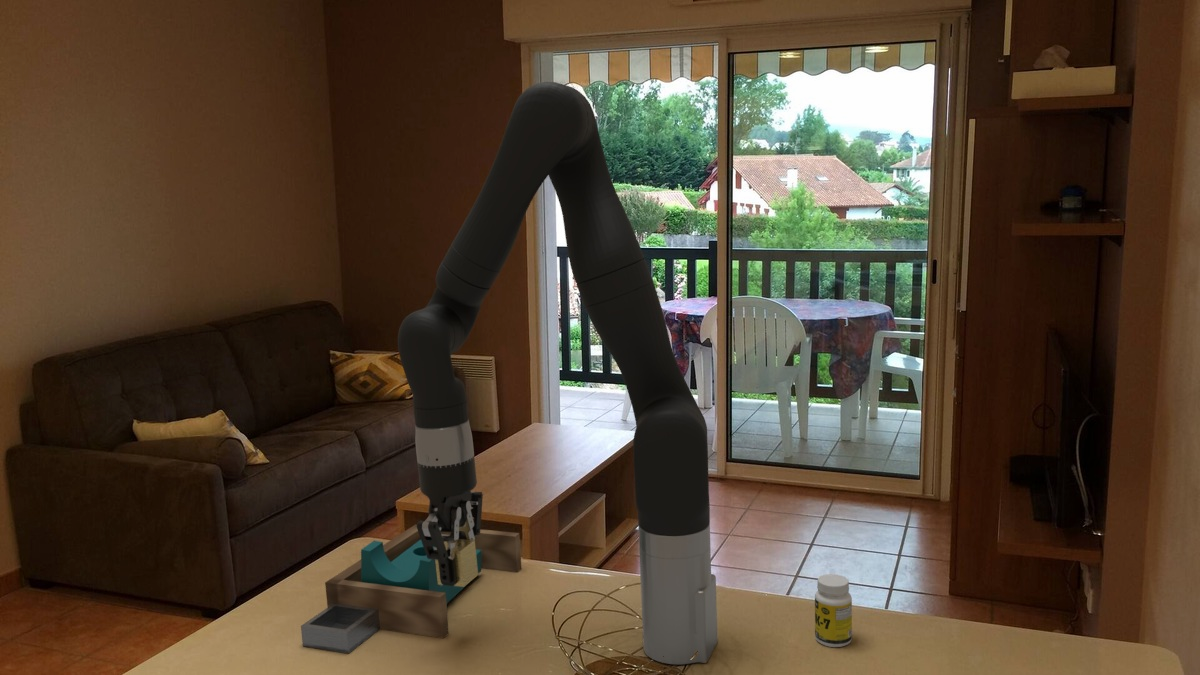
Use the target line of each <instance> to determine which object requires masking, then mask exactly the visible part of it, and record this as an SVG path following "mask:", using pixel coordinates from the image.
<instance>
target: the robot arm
mask: <svg viewBox="0 0 1200 675" xmlns="http://www.w3.org/2000/svg"><path fill="white" fill-rule="evenodd" d="M509 117H510V118H509V120H508V123H507V124H506V127H505V131H504V134H503V136H502V139H501V141H500V142H501V143H500V144H499V148H498V151H497V153H496V156H495V158H494V160H493V163H492V165H491V167H490V170H489V173H488V175H487V177H486V179H485V181H484V183H483V186H482V188H481V190H480V191H479V194H478V196H477V198H476V199H475V202H474V203H473V205H472V207H471V209H470V211H469V213H468V214H467V217H466V218H465V220H464V222H463V223H462V225H461V227H460V228H459V230H458V231H457V233H456V236H455V238H454V239H453V241H452V243H451V244H450V247H449V248H448V250H447V251H446V254H445V256H443V259H442V261H441V263H440V264H439V267H438V268H437V272H436V274H435V283H436V288H435V289H434V291H433V294H432V296H431V298H430V300H429V302H428V303H427V305H426V306H425V307H424V308H421V309H418V310H415V311H413V312H411V313H410V314H408V315H407V316H406V317H404V318H403V320H402V321H401V324H400V326H399V329H398V334H397V347H398V354H399V358H400V362H401V365H402V368H403V371H404V375H405V378H406V382H407V383H408V386H409V388H410V391H411V394H412V406H413V416H414V424H415V425H414V426H415V438H414V439H415V441H414V442H415V452H416V461H417V462H416V463H417V470H418V471H417V472H418V482H419V490H420V493H422V494H423V495H424V496H426V497H427V499H428V500H429V503H428V504H429V505H428V506H429V507H428V517H427V518H426V519H425V520H419V521H417V523H416V524H417V529H418V532H419V535H420V538H421V541H422V544H423V547H424V550H425V553H426V556H427V558H428V559H436V560H438V563H439V572H440V580H441V583H442V584H443V585H448V586H454V585H455V584H456V583H457V571H456V561H455V558H454V557H455V542H456V541H457V540H458V539H466V540H475V535H479V534H480V530H482V529H481V528H482V526H481V525H482V514H483V512H482V510H483V496H484V494H483V492H481V491H475V490H474V489H475V488H476V487H477V485H478V484H477V483H478V480H477V470H476V461H475V460H476V459H475V451H474V450H475V449H474V441H473V434H472V430H471V425H470V419H469V408H468V398H467V392H466V387H465V384H464V382H463V381H462V380H461V379H460V378H458V377H456V375H455V372H454V367H453V363H452V356H451V355H454V354H455V353H456V352H457V351H459V349H461V348H462V346H463V345H464V344H465V342H466V340H467V339H468V338H469V335H470V334H471V331H472V330H473V327H474V325H475V323H476V321H477V318H478V315H479V312H480V311H481V310H480V309H481V307H482V303H483V301H484V298H485V297H486V295H487V294H488V293H489V291H490V290H491V288H492V286H493V284H494V283H495V281H496V279H497V278H498V276H499V274H500V272H501V271H502V269H503V267H504V266H505V264H506V262H507V260H508V257H509V256H510V254H511V251H512V250H513V247H514V245H515V242H516V240H517V237H518V235H519V231H520V228H521V226H522V223H523V221H524V218H525V216H526V213H527V211H528V209H529V207H530V205H531V203H532V202H533V199H534V197H535V195H536V194H537V192H538V191H539V188H540V187H541V186H542V185H543V183H544V182H545V180H546V179H547V178H548V177H549V180H550V182H551V185H552V186H553V190H554V192H555V193H556V196H557V200H558V202H559V206H560V210H561V216H562V220H563V227H564V233H565V234H564V235H565V242H566V249H567V254H568V259H569V264H570V269H571V272H572V275H573V279H574V282H575V284H576V287H577V289H578V293H579V295H580V298H581V300H582V303H583V305H584V308H585V311H586V313H587V315H588V318H589V320H590V322H591V324H592V325H593V327H594V329H595V331H596V333H597V334H598V336H599V338H600V339H601V341H602V343H603V345H604V346H605V348H606V349H607V351H608V352H609V353H610V355H611V357H612V358H613V360H614V361H615V364H616V365H617V367H618V369H619V371H620V373H621V376H622V378H623V381H624V384H625V387H626V390H627V394H628V397H629V399H630V404H631V407H632V412H633V415H634V421H635V424H636V425H635V426H636V428H635V431H634V435H633V442H632V448H633V449H632V451H633V452H632V453H633V472H634V478H633V479H634V490H635V505H636V510H637V520H638V523H637V524H638V525H637V526H638V546H639V547H638V550H639V551H638V552H639V573H640V575H639V576H640V595H641V596H640V597H641V598H640V599H641V600H640V601H641V602H640V603H641V621H642V623H641V624H642V640H643V641H642V643H643V644H642V645H643V652H644V653H645V654H646V656H647V657H649V658H650V659H652V660H654V661H656V662H658V663H662V664H668V665H690V664H694V663H702V664H703V663H704V664H705V663H707V662H708V660H710V657H711V655H712V654H713V651H714V650H715V647H716V646H717V644H718V613H717V612H718V610H717V607H718V606H717V605H718V604H717V576H716V575H715V574H714V573H713V574H712V556H711V555H712V554H711V553H712V552H711V523H710V522H711V521H710V520H711V515H710V514H711V513H710V511H711V510H710V508H711V507H710V487H709V486H710V484H709V481H710V479H709V449H708V448H709V445H708V426H707V422H706V418H705V417H704V414H703V413H702V410H701V409H700V407H699V405H698V403H697V401H696V400H695V397H694V395H693V394H692V392H691V389H690V387H689V385H688V383H687V381H686V380H685V377H684V375H683V373H682V370H681V369H680V367H679V366H680V365H679V363H678V362H677V359H676V357H675V353H674V351H673V347H672V343H671V340H670V335H669V332H668V328H667V323H666V319H665V315H664V311H663V309H662V305H661V301H660V299H659V296H658V291H657V289H656V286H655V282H654V280H653V277H652V274H651V271H650V269H649V266H648V264H647V261H646V259H645V256H644V253H643V250H642V247H641V245H640V243H639V241H638V238H637V235H636V234H635V231H634V229H633V226H632V223H631V222H630V220H629V216H628V214H627V212H626V210H625V208H624V205H623V204H622V201H621V199H620V198H619V195H618V192H617V191H616V188H615V186H614V183H613V181H612V177H611V175H610V174H611V173H610V171H609V168H608V164H607V160H606V156H605V153H604V149H603V146H602V140H601V136H600V134H599V129H598V128H599V127H598V125H597V120H596V116H595V113H594V109H593V107H592V106H591V103H590V102H589V100H588V99H587V98H586V96H585V95H584V94H583V93H581V92H580V91H579V90H577V89H576V88H574V87H572V86H570V85H566V84H563V83H559V82H556V81H542V82H537V83H536V84H533V85H531V86H529V87H528V88H526V89H525V90H524V91H523V92H522V93H521V94H520V95H519V96H518V97H517V100H516V101H515V103H514V107H513V109H512V112H511V113H510V116H509ZM473 490H474V491H473ZM440 531H441V532H451V534H450V535H444V534H441V532H440ZM444 541H446V542H447V543H448V548H447V550H446V547H445V544H444ZM433 547H435V550H434V549H433ZM697 651H698V654H697V656H695V658H693V659H692V660H690V659H691V658H692V656H693V655H694V654H695V653H696V652H697ZM663 656H664V657H663Z"/></svg>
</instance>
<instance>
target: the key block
mask: <svg viewBox="0 0 1200 675" xmlns="http://www.w3.org/2000/svg"><path fill="white" fill-rule="evenodd" d="M444 544H445V547H446V550H447V548H448V543H447V542H446V541H445V542H444ZM434 550H435V549H434ZM454 558H455V561H456V571H457V583H456V584H455V585H454V586H460V587H464V586H465V587H466V586H467V585H468V584H469V583H470V582H471V581H473V580H474V579H475V578H476V577H477V576H478V575H479V574H478V568H477V558H476V548H475V540H466V539H458V540H457V541H456V542H455V557H454ZM435 562H436V572H437V581H438V584H439V585H443V584H442V583H441V580H440V572H439V563H438V560H436V559H435ZM465 587H464V588H465Z"/></svg>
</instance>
